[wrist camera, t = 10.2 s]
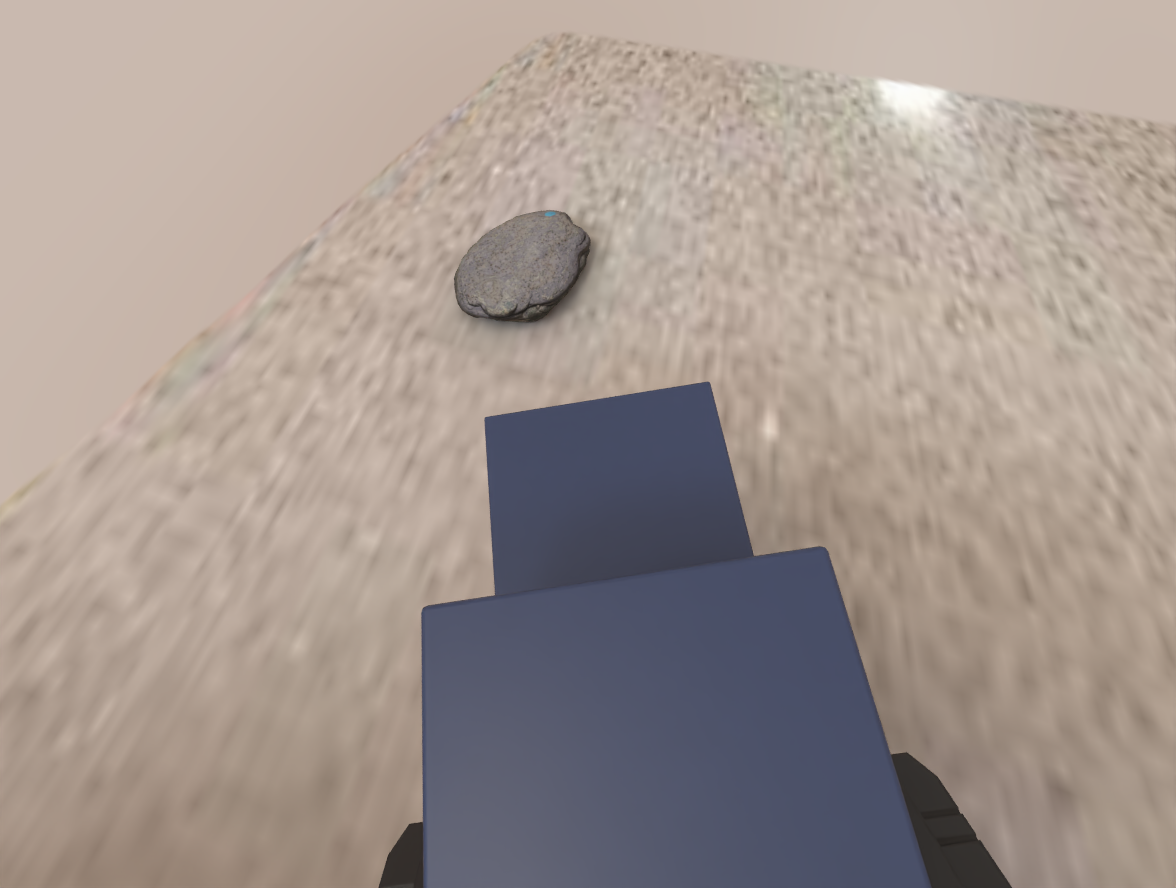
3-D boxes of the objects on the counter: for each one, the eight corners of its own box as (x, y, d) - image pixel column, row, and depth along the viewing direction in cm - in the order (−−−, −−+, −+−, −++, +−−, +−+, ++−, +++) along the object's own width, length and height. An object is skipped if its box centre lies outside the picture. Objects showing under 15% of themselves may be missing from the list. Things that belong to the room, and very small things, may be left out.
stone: (432, 285, 37) (419, 258, 35) (545, 208, 38) (538, 179, 36) (500, 358, 34) (490, 334, 32) (618, 272, 36) (616, 244, 34)
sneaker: (855, 1087, 13) (1204, 1665, 5) (560, 1125, 13) (399, 1742, 5) (707, 460, 19) (746, 242, 11) (510, 491, 19) (405, 298, 11)
